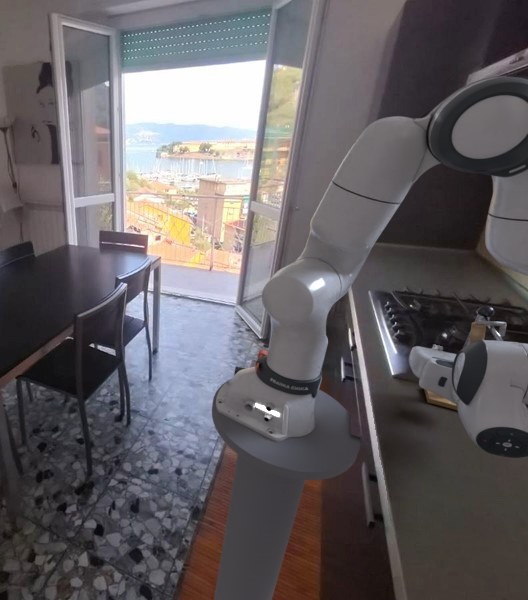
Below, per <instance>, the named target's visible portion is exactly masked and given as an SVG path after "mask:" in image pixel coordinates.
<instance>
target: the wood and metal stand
mask: <svg viewBox="0 0 528 600" xmlns="http://www.w3.org/2000/svg"><path fill="white" fill-rule="evenodd" d="M494 315H495V309H494V308H493V307H492V306H489V305H482V306H480V307H479V308H478V309H477V315H476V318H475V320H474V322H477V321H490V319H491V317H493V316H494ZM486 328H488V329H489V331H490V332H491V334H492V336H493V337H494V339H495V341H504V339H503V338H502V337H500V335H499V331H498V330H496V328H495V326H486ZM470 332H471V330H470V331H469V333H468V336H467V337H466V340H465V342H464V344H463V346H462V349H463V348H464V347H466V346H467V345H469V339H470ZM423 390H424V394H425V399H426V402H427V403H428V404H432V405H436V406H440V407H443V408H447V409H451V410H454V411H458V406H457V405H456V404H455V403H453V402H451V401H449V400H447V399H446V398H444V397H442V396H440V395H437V394H435V393H433V392H430V391H428V390H425V389H423Z"/></svg>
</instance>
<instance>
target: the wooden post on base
mask: <svg viewBox="0 0 528 600" xmlns="http://www.w3.org/2000/svg"><path fill="white" fill-rule="evenodd" d="M470 326H471V327H470V331H471V332H470V331H469V333H470V339H469V344H470V343H472V342H474V341H476V340H485V336H486V331H487V326H493V327H499V329H498V334H499V335H500V337H501V338H502V337H503V338H504V337H505V336H506V330H507V322H505V321H495V320H494V321H491V320H489V321H477V322H475V321H473V322H471V325H470Z"/></svg>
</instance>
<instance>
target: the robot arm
mask: <svg viewBox="0 0 528 600" xmlns="http://www.w3.org/2000/svg"><path fill="white" fill-rule="evenodd" d="M440 164H442V165H444V166H446V167H447V168H450V169H453V170H455V171H459V172H464V173H470V174H479V175H485V176H486V175H487V176H491V180H492V196H491V199H490V204H489V208H488V213H487V216H486V223H485V230H484V244H485V247H486V250H487V252H488V254H490V256H491V257H492V258H493V259H494V260H496V261H497V262H498V263H499V264H500V265H503V266H504V267H506V268H507V269H509V270H511V271H514V272H516V273H518V274H521V275H524V276H527V277H528V78H523V77H518V76H506V75H505V76H504V75H498V76H489V77H485V78H481V79H478V80H475V81H473V82H470V83H468V84H466V85H464V86H462V87H461V88H459V89H458V90H455V91H454V92H452V93H451V94H450V95H448V96H447V97H446V98H445V97H444V99H443V100H442V101H440V102H439V103H438V104H436V105H434V106H433V107H432V108H431V109H429V110H427V112H425V113H424V114H423V115H421V116H419V118H416V117H415V118H414V117H409V116H401V115H397V116H396V115H395V116H387V117H383V118H380V119H377V120H375V121H373V122H371V123H370V124H369V125H368V126H366V127H365V129H364V130H363V131H362V133H360V135H359V137H358V138H357V139H356V141H355V142H354V143H353V144H352V146H351V147H350V149H349V150H348V152H347V153H346V155H345V156H344V158H343V160H342V161H341V163H340V165H339V167H338V168H337V170H336V171H335V174H334V175H333V177H332V179H331V180H330V183H329V184H328V187H327V189H326V190H325V192H324V194H323V196H322V198H321V199H320V202H319V204H318V206H317V207H316V210H315V212H314V214H313V216H312V217H311V219H310V224H309V227H310V229H309V233H308V236H307V241H306V243H305V247H303V250H302V252H301V254H300V255H299V256H298V257H297V258H296V260H294V261H292V263H290V264H288V265H286V266H284V267H282V268H280V269H278V270H277V271H276V272H275V273H274V274H273V275H272V277H270V279H269V280H268V281H267V282H266V283H265V285H264V287H263V289H262V293H261V300H262V305H263V308H264V310H265V311H266V313H267V314H268V316H269V319H270V337H269V342H268V348H267V350H266V349H263V348H262V349H260V350H259V351H258V353H257V360H256V362H255V366H252V367H247V368H245V367H241V366H235V368H234V375H233V377H232V378H231V380H230V379H229V380H230V381H228V380H227V381H228V382H227V381H225V382H226V383H225V382H224V383H225V384H224V383H223V384H224V385H223V386H222V387H221V389H220V390H219V392H218V395H217V398H216V409H217V411H218V412H219V413H221V414H223V415H225V416H226V417H228V418H230V419H232V420H234V421H236V422H238V423H240V424H242V425H244V426H246V427H248V428H250V429H252V430H254V431H256V432H258V433H260V434H262V435H264V436H265V437H267V438H269V439H271V440H273V441H276V442H279V441H283V440H285V439H287V438H291V437H301V436H305V435H307V434H309V433H311V432H312V431H313V429H314V427H315V417H314V404H315V397H316V395H317V393H318V391H319V390H320V387H321V384H322V380H323V371H322V368H323V365H324V360H325V356H326V352H327V350H328V349H327V348H328V345H329V338H328V336H327V319H328V315H329V312H330V311H331V309H332V307H333V306H334V304H335V303H337V302H338V301H339V300H340V299H341V298H343V297H344V296H345V295H346V294H347V293H348V292H349V290H350V288H351V287H352V286H353V283H354V282H355V280H356V278H357V277H358V275H359V273H360V272H361V271H362V270H361V269H362V268H363V266H364V264H365V263H366V260H367V258H368V256H369V255H370V253H371V251H372V248H373V247H374V245H375V244H376V242H377V240H378V239H379V238H380V236H381V235H382V233H383V231H385V228H386V227H387V225H388V224H389V222H390V221H391V220H392V218H393V217H394V215H395V213H396V212H397V210H398V209H399V207H400V206H401V204H402V203H403V201H404V200H405V198H406V196H407V195H408V194H409V191H410V190H411V188H412V187H413V185H414V184H415V183H416V182H417V181H418V179H419V178H420V177H421V176H422V175H423V174H424V173H426V172H427V171H428V170H429V169H431V168H434V167H435V166H438V165H440ZM408 364H409V367H410V370H411V371H412V374H413V375H414V376H415V377H416V378H418V379H419V381H418V385H419V387H420V388H421V389H423V390H424V389H425V390H428V391H430V392H433V393H435V394H437V395H440V396H442V397H444V398H446V399H447V400H449V401H451V402H453V403H455V404H456V405H457V406H458V410H457V413H458V416H459V419H460V421H461V425H462V426H463V428H464V430H465V431H466V434H467V435H468V437H469V438H470V439H471V441H472V442H473V443H474V444H475V445H476V446H477V447H478V448H479V449H481V450H482V451H484V452H486V453H488V454H491V455H494V456H499V457H503V458H511V459H520V458H527V457H528V407H527V405H528V343H524V342H517V341H507V340H505V341H504V340H503V341H497V340H494V339H491V340H490V339H484V340H476V341H474V342H472V343H470V344H469V345H467V346H466V347H464V348H463V347H462V348H461V349H460V350H459V351H458V352H457V353H453V352H448V351H444V347H443V346H440V345H436V344H432V347H431V348H430V347H425V346H420V345H416V346H413V347H412V348H411V350H410V352H409V355H408ZM425 390H424V391H425Z"/></svg>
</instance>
